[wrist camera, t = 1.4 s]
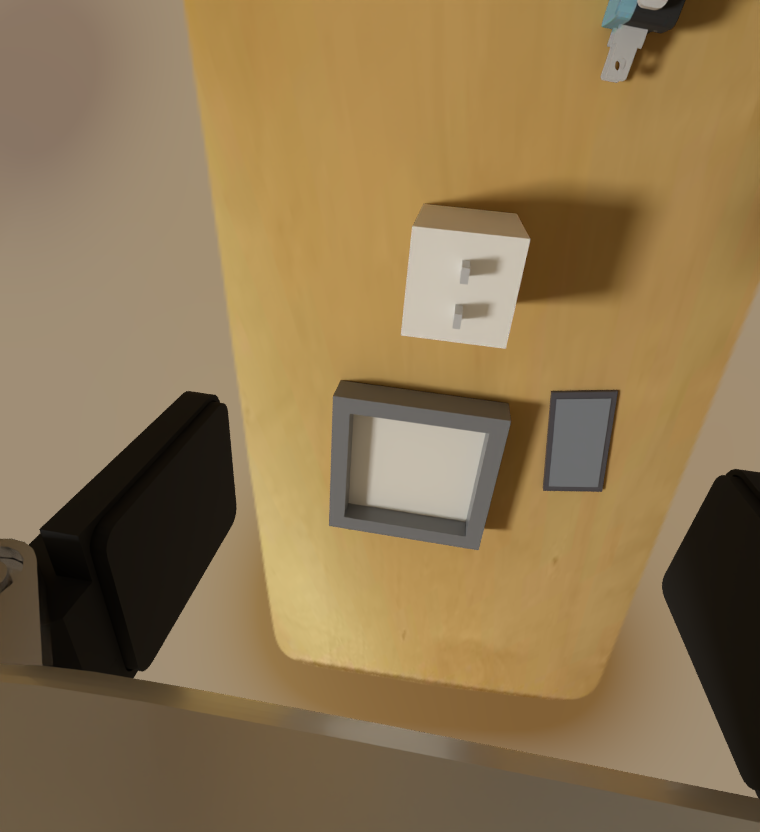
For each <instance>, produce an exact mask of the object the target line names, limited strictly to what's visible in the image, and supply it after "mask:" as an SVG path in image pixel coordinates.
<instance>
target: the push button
mask: <svg viewBox="0 0 760 832" xmlns="http://www.w3.org/2000/svg"><path fill="white" fill-rule="evenodd" d="M684 3H685V0H609V3H608V6H607V9H606V12H605V16H604V19H603V22H602V27H605V28H610V29H613V30H612V33H611V36H610V38H609V41H608V44H607V46H608V47H610V50H609V53H608V56H607V59H606V62H605V65H604V68H603V71H602V74H601V79H602V80H605V81H610V82H615V83H617V82H619V81H624V80H626V78H627V75H628V72H629V70H630V67H631V64H632V61H633V59H634V56H635V53H636V50H637V48H639V49H641V48H642V45H643V43H644V40H645V37H646V34H648V33H650V32H657V33H663V32H666V31H668V30H670V29H672V28H673V27H674V26H675V24H676V22H677V20H678V18H679V15H680V13H681V10H682V8H683V5H684ZM616 61H618V62H619V64H620V67H619V69H618V70H616V68H615V63H616Z"/></svg>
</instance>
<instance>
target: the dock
mask: <svg viewBox="0 0 760 832" xmlns="http://www.w3.org/2000/svg"><path fill="white" fill-rule="evenodd" d="M510 424H511V417H510V410H509V404H508V403H502V402H494V401H487V400H480V399H472V398H465V397H458V396H451V395H443V394H436V393H429V392H422V391H414V390H407V389H400V388H393V387H385V386H378V385H371V384H364V383H356V382H349V381H342V380H341V381H340V383H339V385H338V387H337V389H336V391H335V393H334V395H333V416H332V449H331V481H330V513H329V526H333V527H340V528H346V529H352V530H358V531H364V532H370V533H376V534H382V535H388V536H394V537H401V538H407V539H413V540H419V541H425V542H431V543H437V544H443V545H449V546H456V547H462V548H468V549H474V550H479V546H480V542H481V538H482V534H483V530H484V527H485V523H486V519H487V515H488V511H489V507H490V503H491V499H492V495H493V491H494V487H495V483H496V479H497V475H498V471H499V467H500V463H501V459H502V455H503V451H504V447H505V443H506V440H507V436H508V432H509V428H510Z"/></svg>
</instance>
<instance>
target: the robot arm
mask: <svg viewBox="0 0 760 832" xmlns="http://www.w3.org/2000/svg"><path fill="white" fill-rule="evenodd" d="M233 475H234V474H233V463H232V452H231V441H230V430H229V419H228V410H227V406H226V405H225V404H224V403H220V401H219V399H218V397H217V396H216V395H212V394H204V393H198V392H191V391H186V392H185V393H183V394H182V395H181V396H180V397H179V398H178V399H177V400H176V401H175V402H174V403H173V404H172V405H171V406H169V407H168V408H167V409H166V410H165V411H164V412H163V413H162V414H161V415H160V416H159V417H158V418H157V419H156V420H155V421H154V422H153V423H151V424H150V425H149V426H148V427H147V428H146V429H145V430H144V431H143V432H142V433H141V434H140V435H139V436H138V437H137V438H136V439H134V441H132V442H131V443H130V444H129V445H128V446H127V447H126V448H125V449H124V450H123V451H122V452H121V453H120V454H119V455H118V456H116V457H115V458H114V459H113V460H112V461H111V462H110V463H109V464H108V465H107V466H106V467H105V468H104V469H103V470H102V471H101V472H100V473H98V474H97V475H96V476H95V477H94V478H93V479H92V480H91V481H90V482H89V483H88V484H87V485H86V486H85V487H84V488H83V489H82V490H80V492H78V493H77V494H76V495H75V496H74V497H73V498H72V499H71V500H70V501H69V502H68V503H67V504H66V505H65V506H64V507H63V508H61V509H60V510H59V511H58V512H57V513H56V514H55V515H54V516H53V517H52V518H51V519H50V520H49V521H48V522H47V523H46V524H45V525H43V526H42V527H41V528H40V534H39V535H38V536H37V537H36V538H35V539H34V540H33V541H32V542H31V543H30V544H29V545H28V544H26V543H25V542H22V541H18V540H14V539H0V832H760V472H753V471H746V470H739V469H734V470H731V471H729V472H728V473H727V474H726V475H721V476H719V477H718V478H716V480H715V481H714V483H713V485H712V487H711V488H710V490H709V492H708V494H707V496H706V498H705V500H704V502H703V503H702V505H701V507H700V509H699V511H698V513H697V515H696V517H695V519H694V520H693V522H692V525H691V526H690V528H689V530H688V532H687V534H686V536H685V537H684V539H683V541H682V543H681V545H680V547H679V549H678V550H677V552H676V554H675V556H674V558H673V560H672V562H671V564H670V566H669V568H668V570H667V571H666V573H665V575H664V578H663V582H662V590H663V594H664V598H665V600H666V602H667V605H668V607H669V609H670V612H671V614H672V616H673V619H674V621H675V623H676V626H677V628H678V630H679V633H680V635H681V637H682V640H683V642H684V644H685V647H686V649H687V651H688V654H689V656H690V658H691V660H692V663H693V665H694V667H695V670H696V672H697V675H698V677H699V679H700V681H701V684H702V686H703V689H704V691H705V693H706V695H707V698H708V700H709V703H710V705H711V707H712V709H713V711H714V714H715V716H716V719H717V721H718V723H719V726H720V728H721V730H722V733H723V735H724V737H725V740H726V742H727V744H728V747H729V749H730V751H731V754H732V756H733V758H734V761H735V763H736V765H737V768H738V770H739V772H740V775H741V776H742V778H743V780H744V782H745V783H746V784H747V786H748V787H750V788H752V789H753V790H755V791H756V794H757V796H758V798H759V799H758V798H753V797H748V796H743V795H738V794H733V793H728V792H723V791H718V790H713V789H708V788H703V787H698V786H693V785H688V784H683V783H678V782H673V781H668V780H663V779H658V778H653V777H648V776H643V775H638V774H633V773H628V772H623V771H618V770H614V769H608V768H604V767H598V766H593V765H588V764H583V763H578V762H573V761H568V760H563V759H558V758H553V757H547V756H542V755H537V754H532V753H527V752H522V751H517V750H511V749H507V748H501V747H496V746H491V745H485V744H481V743H476V742H471V741H465V740H460V739H455V738H450V737H444V736H440V735H435V734H429V733H424V732H418V731H413V730H409V729H403V728H398V727H393V726H388V725H383V724H378V723H373V722H367V721H362V720H357V719H352V718H346V717H341V716H336V715H330V714H325V713H320V712H315V711H309V710H303V709H299V708H293V707H288V706H283V705H278V704H272V703H267V702H262V701H256V700H251V699H246V698H240V697H235V696H230V695H224V694H219V693H214V692H209V691H204V690H198V689H192V688H186V687H180V686H174V685H169V684H163V683H157V682H151V681H145V680H139V679H133V678H134V676H135V675H136V673H137V671H144V670H146V669H147V668H148V667H149V666H150V665H151V663H152V662H153V660H154V658H155V657H156V655H157V653H158V651H159V650H160V648H161V646H162V645H163V643H164V641H165V639H166V638H167V636H168V634H169V632H170V631H171V629H172V627H173V626H174V624H175V622H176V621H177V619H178V617H179V615H180V614H181V612H182V610H183V609H184V607H185V605H186V603H187V602H188V600H189V598H190V596H191V595H192V593H193V591H194V590H195V588H196V586H197V584H198V583H199V581H200V579H201V578H202V576H203V574H204V572H205V571H206V569H207V567H208V566H209V564H210V562H211V561H212V559H213V557H214V555H215V554H216V552H217V550H218V548H219V547H220V545H221V543H222V542H223V540H224V538H225V537H226V535H227V533H228V531H229V530H230V528H231V526H232V524H233V522H234V519H235V515H236V496H235V485H234V476H233Z"/></svg>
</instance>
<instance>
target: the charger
mask: <svg viewBox="0 0 760 832" xmlns="http://www.w3.org/2000/svg"><path fill="white" fill-rule="evenodd" d="M529 243H530V237H529V235H528V234H527V232H526V230H525V228H524V226H523V224H522V222H521V221H520V219H519V217H518V215H517V214H516V213H507V212H497V211H488V210H478V209H469V208H459V207H450V206H440V205H431V204H423V206H422V208H421V210H420V212H419V214H418V216H417V218H416V220H415V222H414V224H413V226H412V234H411V244H410V254H409V263H408V273H407V282H406V292H405V301H404V311H403V320H402V330H401V335H403V336H411V337H419V338H426V339H434V340H442V341H450V342H458V343H465V344H473V345H481V346H489V347H497V348H504V349H506V345H507V341H508V336H509V332H510V327H511V323H512V319H513V314H514V310H515V305H516V301H517V296H518V292H519V288H520V283H521V279H522V274H523V270H524V265H525V261H526V257H527V252H528V248H529Z"/></svg>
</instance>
